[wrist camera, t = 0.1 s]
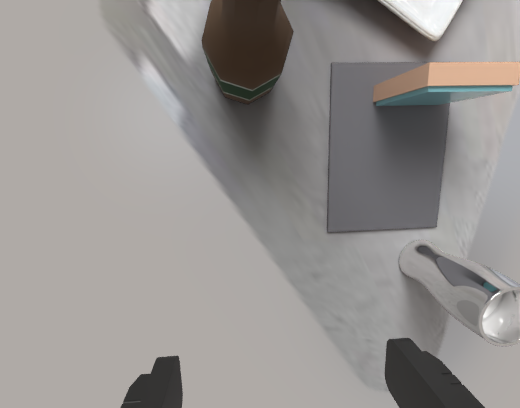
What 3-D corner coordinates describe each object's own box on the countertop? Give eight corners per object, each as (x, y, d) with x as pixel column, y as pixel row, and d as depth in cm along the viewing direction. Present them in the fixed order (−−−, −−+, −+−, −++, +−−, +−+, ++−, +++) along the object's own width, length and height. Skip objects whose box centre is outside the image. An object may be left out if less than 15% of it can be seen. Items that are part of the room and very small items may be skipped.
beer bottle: (217, 108, 37) (182, 47, 13) (208, 41, 35) (150, -164, 12) (277, 102, 37) (349, 32, 14) (272, 35, 35) (340, -174, 12)
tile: (373, 85, 37) (429, 62, 26) (440, 85, 38) (521, 61, 27) (372, 106, 38) (427, 91, 27) (438, 105, 38) (517, 90, 28)
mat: (331, 63, 37) (332, 62, 36) (451, 63, 38) (454, 62, 37) (326, 230, 41) (328, 232, 41) (434, 225, 42) (436, 226, 42)
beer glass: (423, 227, 42) (523, 271, 28) (449, 259, 44) (556, 318, 29) (386, 257, 43) (464, 317, 28) (412, 289, 44) (499, 361, 30)
